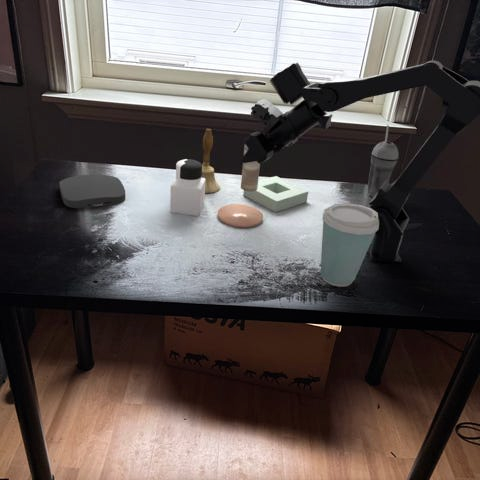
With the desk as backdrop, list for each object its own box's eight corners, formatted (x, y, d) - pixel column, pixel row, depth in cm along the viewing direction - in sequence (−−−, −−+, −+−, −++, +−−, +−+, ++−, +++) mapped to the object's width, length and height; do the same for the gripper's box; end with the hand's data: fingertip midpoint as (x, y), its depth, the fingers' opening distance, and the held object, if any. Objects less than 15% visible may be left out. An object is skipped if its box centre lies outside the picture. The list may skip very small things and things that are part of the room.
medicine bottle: (204, 204, 118) (207, 158, 112) (199, 216, 112) (201, 169, 106) (176, 200, 119) (177, 155, 113) (169, 212, 112) (170, 165, 107)
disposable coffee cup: (302, 281, 92) (315, 212, 85) (320, 257, 101) (334, 193, 93) (355, 300, 88) (373, 229, 81) (369, 274, 97) (387, 208, 89)
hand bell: (190, 180, 131) (193, 123, 123) (220, 182, 131) (225, 126, 124) (187, 192, 124) (190, 132, 116) (219, 195, 124) (223, 135, 116)
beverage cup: (390, 201, 131) (410, 130, 121) (364, 199, 131) (382, 128, 121) (384, 191, 137) (402, 123, 128) (359, 188, 137) (375, 120, 127)
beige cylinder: (259, 191, 113) (265, 146, 107) (243, 191, 111) (248, 147, 106) (253, 184, 116) (258, 140, 111) (238, 185, 115) (242, 141, 109)
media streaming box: (58, 186, 120) (56, 175, 119) (116, 182, 126) (115, 171, 125) (65, 211, 109) (64, 199, 107) (129, 205, 115) (128, 193, 113)
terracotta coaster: (263, 229, 109) (263, 226, 109) (216, 225, 109) (216, 222, 109) (262, 209, 119) (262, 206, 118) (218, 205, 119) (219, 202, 118)
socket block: (306, 201, 125) (308, 191, 124) (275, 212, 118) (276, 201, 117) (274, 186, 133) (276, 176, 131) (243, 194, 126) (244, 184, 124)
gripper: (292, 83, 108) (245, 121, 117) (257, 96, 93) (206, 138, 103) (319, 125, 109) (270, 159, 118) (288, 144, 94) (235, 181, 104)
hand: (246, 158), depth 111 cm, fingers closed on beige cylinder, 4 cm apart
